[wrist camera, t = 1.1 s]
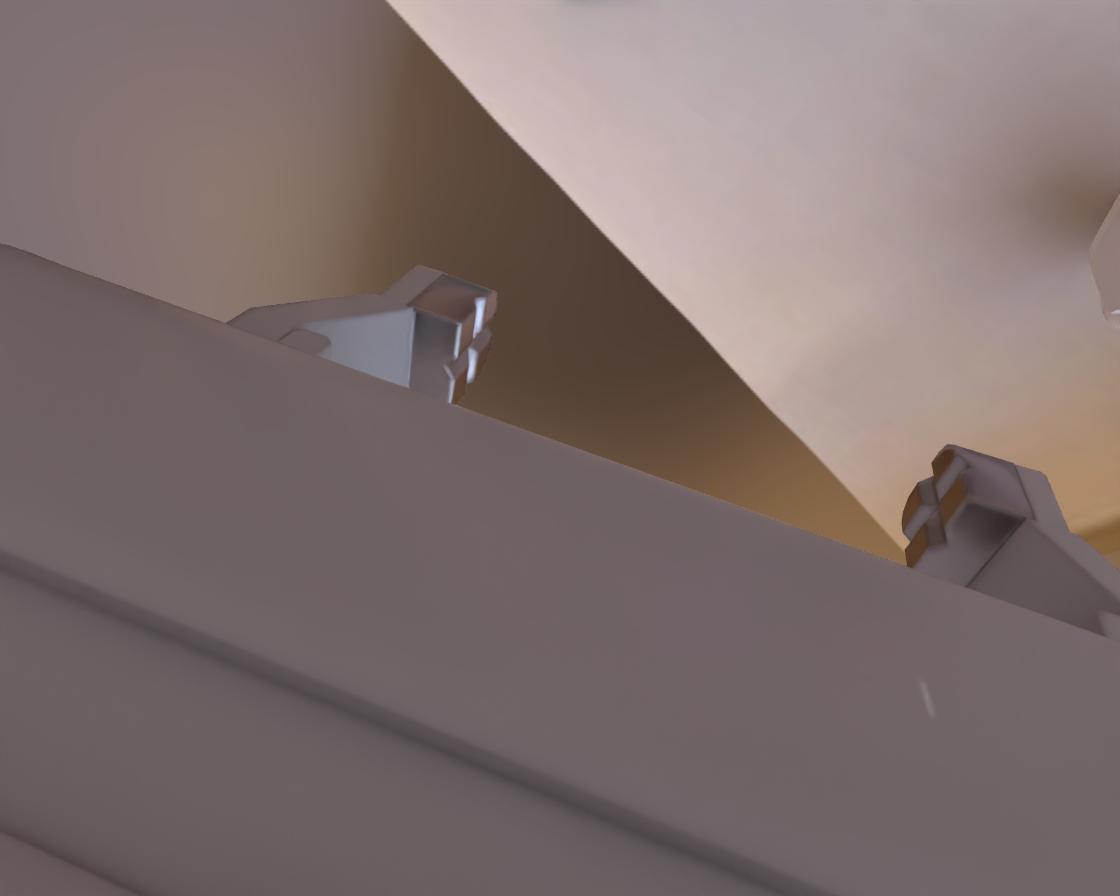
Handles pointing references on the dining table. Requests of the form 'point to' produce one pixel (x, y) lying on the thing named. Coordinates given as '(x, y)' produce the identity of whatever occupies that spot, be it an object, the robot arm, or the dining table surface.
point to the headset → (1108, 264)
